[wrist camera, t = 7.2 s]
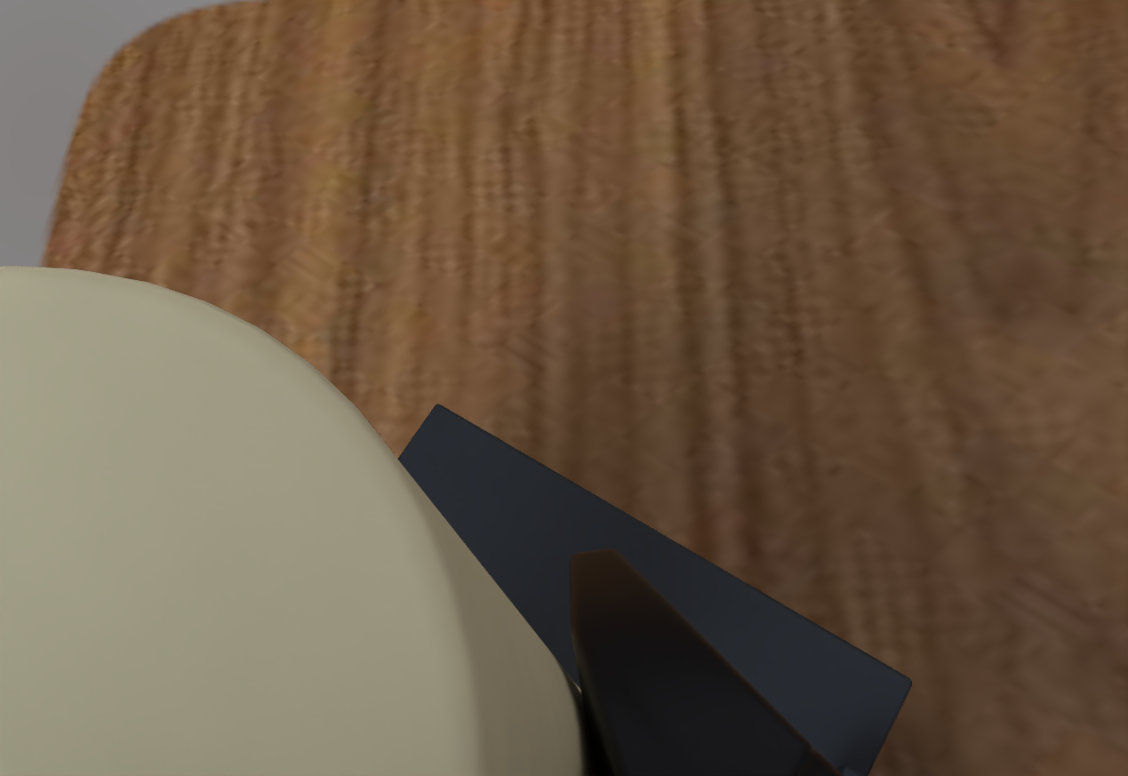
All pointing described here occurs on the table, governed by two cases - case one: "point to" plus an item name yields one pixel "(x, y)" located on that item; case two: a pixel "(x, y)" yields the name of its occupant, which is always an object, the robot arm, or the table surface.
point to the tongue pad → (313, 569)
